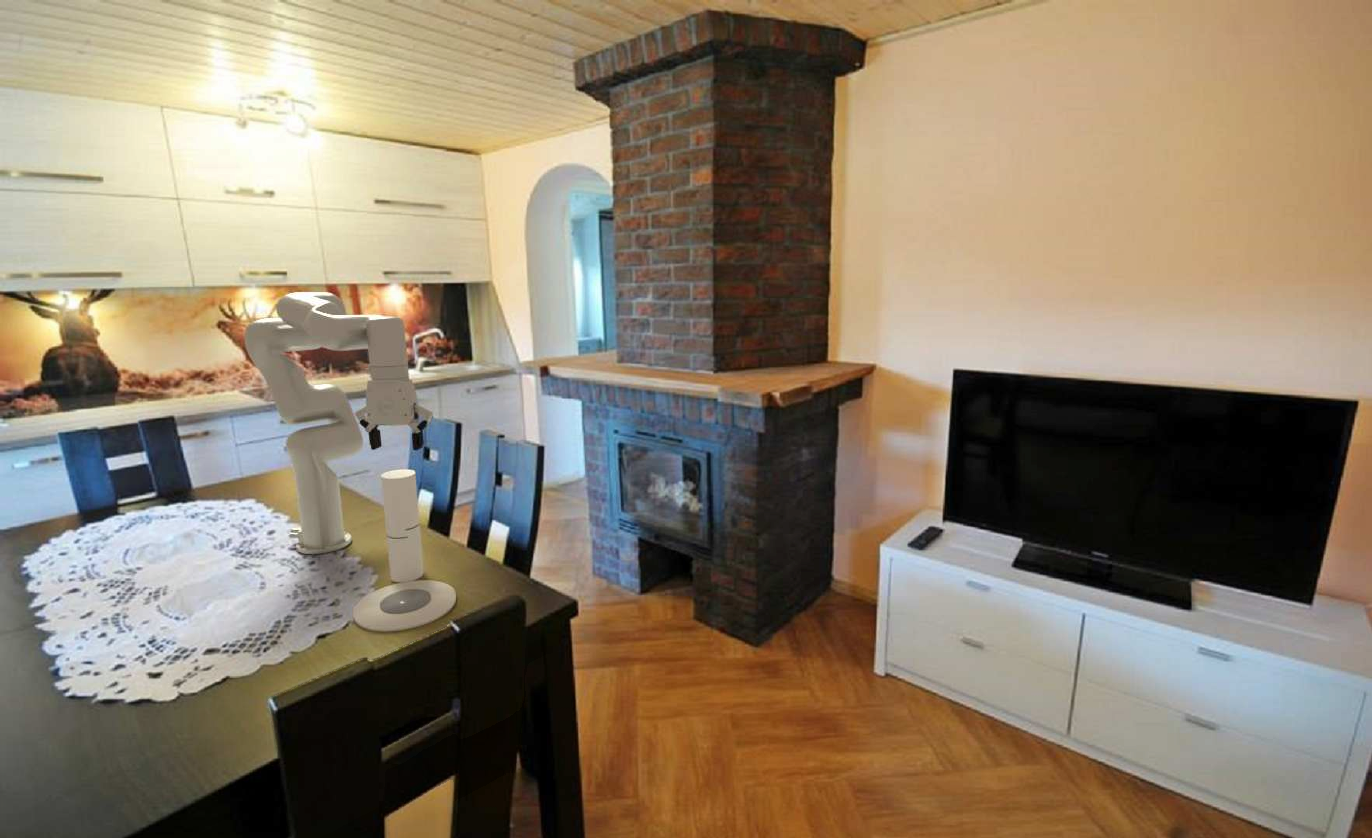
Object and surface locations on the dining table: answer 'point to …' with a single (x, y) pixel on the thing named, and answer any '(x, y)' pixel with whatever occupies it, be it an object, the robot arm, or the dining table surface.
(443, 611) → the plate
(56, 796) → the dining table surface
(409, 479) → the cylindrical container
